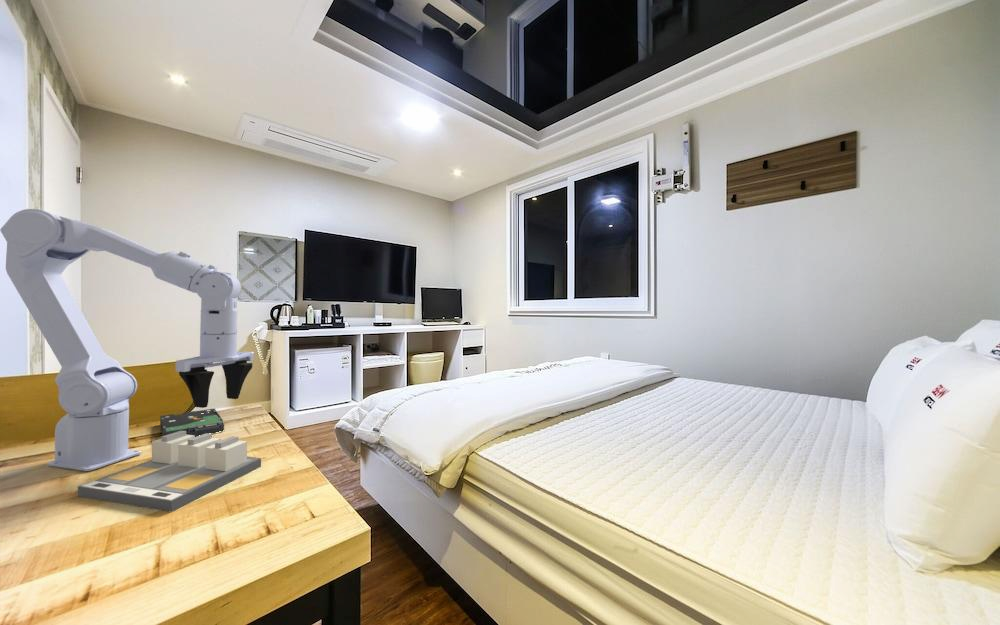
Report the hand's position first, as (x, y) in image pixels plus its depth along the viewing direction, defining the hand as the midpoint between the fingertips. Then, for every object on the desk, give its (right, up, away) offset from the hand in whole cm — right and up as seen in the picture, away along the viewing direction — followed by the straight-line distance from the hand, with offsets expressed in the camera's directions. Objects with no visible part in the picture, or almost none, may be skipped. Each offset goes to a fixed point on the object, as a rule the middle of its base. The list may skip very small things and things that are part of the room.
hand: (217, 402), depth 72 cm
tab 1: (-2, -8, -8) cm, 11 cm away
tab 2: (+4, -8, -9) cm, 12 cm away
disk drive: (-15, -10, +12) cm, 22 cm away
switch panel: (+3, -10, -12) cm, 16 cm away
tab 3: (+9, -8, -10) cm, 16 cm away
